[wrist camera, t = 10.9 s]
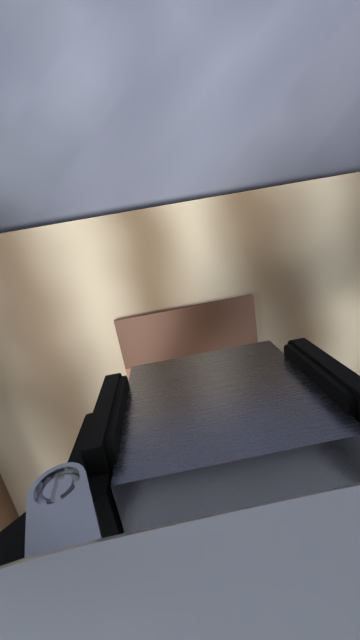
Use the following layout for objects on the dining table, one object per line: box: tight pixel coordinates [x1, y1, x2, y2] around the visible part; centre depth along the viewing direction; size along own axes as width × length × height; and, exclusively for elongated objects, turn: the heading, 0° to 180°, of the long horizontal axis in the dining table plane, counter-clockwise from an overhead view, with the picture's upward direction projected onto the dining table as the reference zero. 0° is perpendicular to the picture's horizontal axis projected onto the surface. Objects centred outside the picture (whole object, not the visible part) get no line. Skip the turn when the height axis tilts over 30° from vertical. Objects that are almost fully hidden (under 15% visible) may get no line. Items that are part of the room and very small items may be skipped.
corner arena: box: [0, 172, 360, 532], centre depth 17 cm, size 26×26×6 cm
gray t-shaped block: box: [110, 340, 360, 533], centre depth 11 cm, size 9×6×6 cm, turn 10°
